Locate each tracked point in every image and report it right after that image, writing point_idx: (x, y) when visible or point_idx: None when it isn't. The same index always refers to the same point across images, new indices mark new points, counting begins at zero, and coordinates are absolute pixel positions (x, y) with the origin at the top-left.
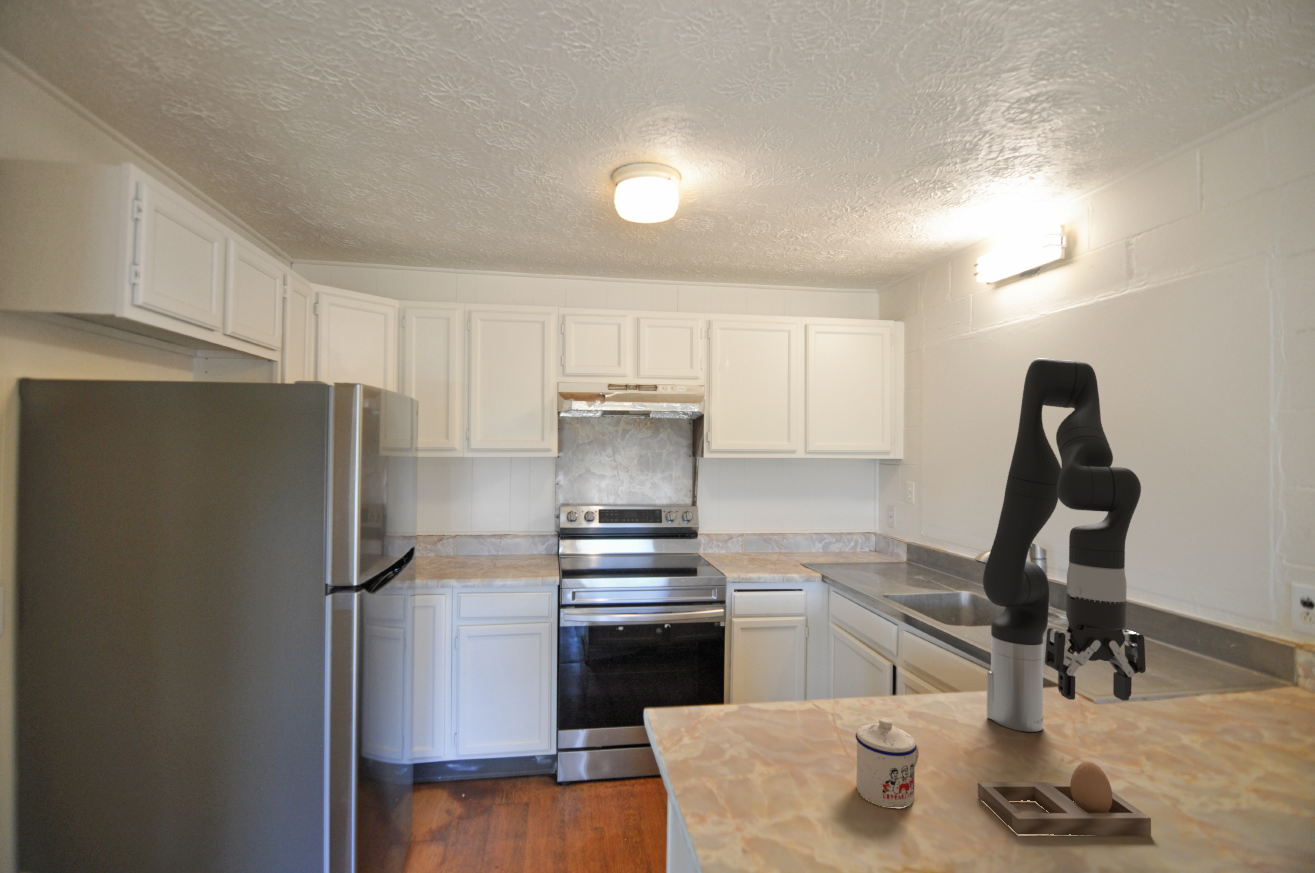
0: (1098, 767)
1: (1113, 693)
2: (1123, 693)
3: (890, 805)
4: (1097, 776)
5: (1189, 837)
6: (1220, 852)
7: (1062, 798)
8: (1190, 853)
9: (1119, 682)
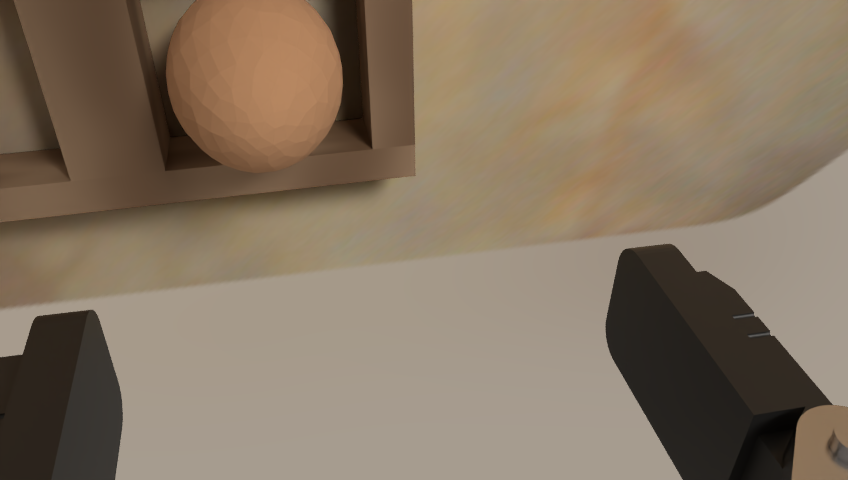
0: (285, 154)
1: (633, 248)
2: (632, 374)
3: None
4: (253, 172)
5: (535, 139)
6: (557, 204)
7: (106, 68)
8: (454, 219)
9: (683, 407)
